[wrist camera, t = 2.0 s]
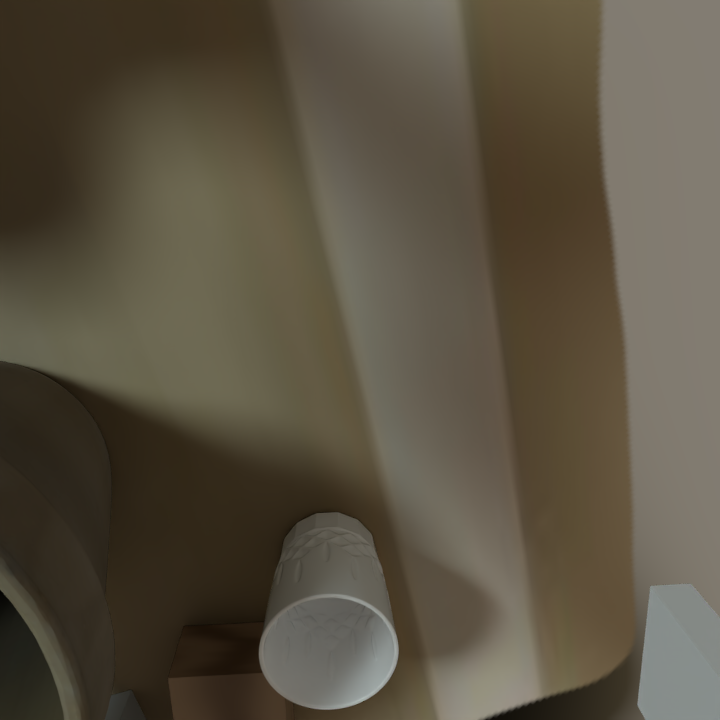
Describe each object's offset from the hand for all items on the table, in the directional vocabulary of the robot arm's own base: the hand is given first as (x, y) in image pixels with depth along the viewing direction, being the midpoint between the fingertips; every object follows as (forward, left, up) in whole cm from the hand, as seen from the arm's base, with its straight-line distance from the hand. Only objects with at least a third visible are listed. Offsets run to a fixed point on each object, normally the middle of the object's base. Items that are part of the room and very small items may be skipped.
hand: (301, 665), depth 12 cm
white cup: (0, -18, -31) cm, 35 cm away
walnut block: (-7, -29, -31) cm, 42 cm away
